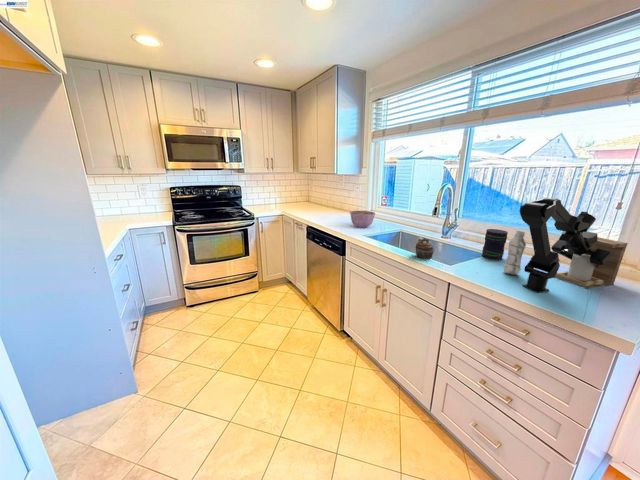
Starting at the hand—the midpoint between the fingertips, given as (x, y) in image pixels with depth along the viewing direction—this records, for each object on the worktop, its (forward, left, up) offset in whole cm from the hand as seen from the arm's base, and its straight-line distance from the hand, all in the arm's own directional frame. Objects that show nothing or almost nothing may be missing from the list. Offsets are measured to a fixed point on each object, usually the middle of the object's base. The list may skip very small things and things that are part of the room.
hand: (585, 263), depth 116 cm
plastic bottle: (-24, +13, -8) cm, 29 cm away
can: (-2, 0, -8) cm, 8 cm away
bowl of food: (-51, +120, -8) cm, 131 cm away
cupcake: (-49, +43, -8) cm, 66 cm away
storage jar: (-12, +34, -8) cm, 37 cm away
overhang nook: (0, 0, -8) cm, 8 cm away
